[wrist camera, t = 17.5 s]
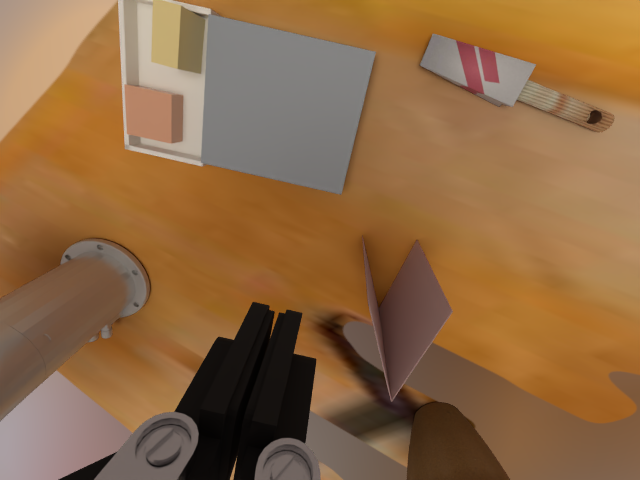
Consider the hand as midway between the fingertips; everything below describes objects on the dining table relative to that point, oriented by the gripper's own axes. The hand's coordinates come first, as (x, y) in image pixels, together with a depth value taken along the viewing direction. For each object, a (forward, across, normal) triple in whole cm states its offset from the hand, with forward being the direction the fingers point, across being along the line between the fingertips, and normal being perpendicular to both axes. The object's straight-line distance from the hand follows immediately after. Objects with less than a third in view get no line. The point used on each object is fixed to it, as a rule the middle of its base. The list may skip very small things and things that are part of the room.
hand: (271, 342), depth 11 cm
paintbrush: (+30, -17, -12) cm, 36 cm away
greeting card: (+29, -9, +11) cm, 33 cm away
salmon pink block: (+26, +20, -2) cm, 33 cm away
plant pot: (+29, -26, +35) cm, 53 cm away
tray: (+29, +18, -6) cm, 35 cm away
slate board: (+29, +6, -6) cm, 30 cm away
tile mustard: (+26, +16, -10) cm, 32 cm away
